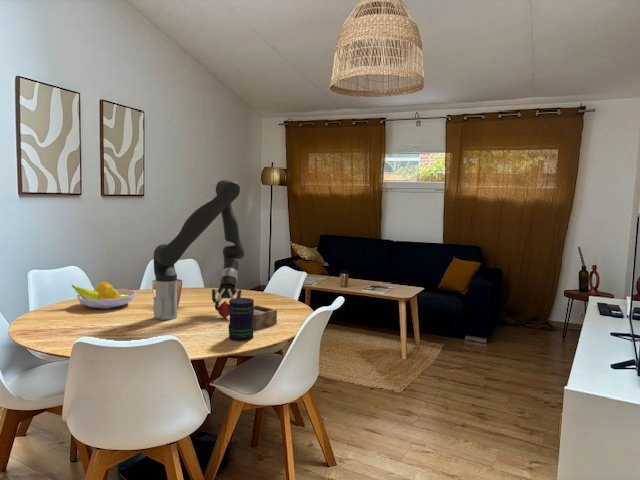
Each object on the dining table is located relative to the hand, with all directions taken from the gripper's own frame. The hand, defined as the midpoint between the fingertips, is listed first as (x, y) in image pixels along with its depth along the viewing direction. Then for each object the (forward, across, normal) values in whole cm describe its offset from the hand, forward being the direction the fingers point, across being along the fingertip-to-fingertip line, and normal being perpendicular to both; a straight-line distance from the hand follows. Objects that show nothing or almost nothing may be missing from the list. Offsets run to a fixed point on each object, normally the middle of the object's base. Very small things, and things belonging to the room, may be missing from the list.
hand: (224, 309), depth 208 cm
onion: (+2, 0, +4) cm, 5 cm away
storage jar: (+22, +12, -16) cm, 30 cm away
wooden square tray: (+8, +15, -1) cm, 17 cm away
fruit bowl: (-11, -63, +18) cm, 66 cm away
